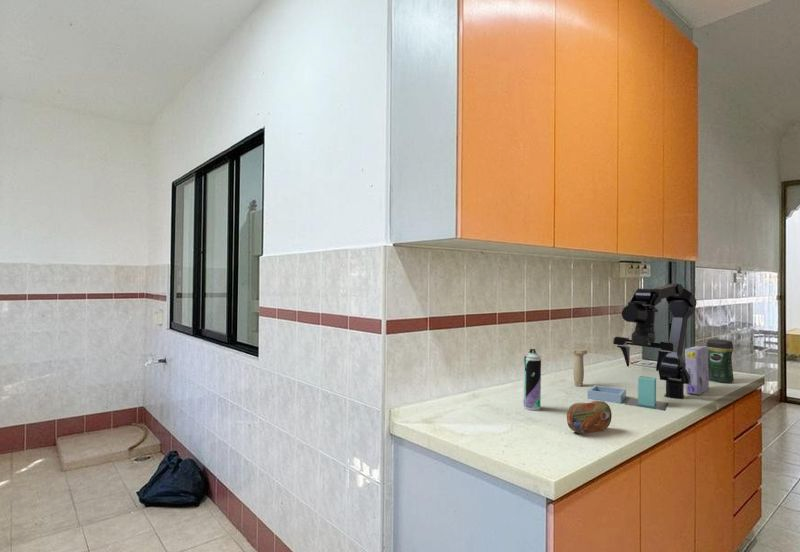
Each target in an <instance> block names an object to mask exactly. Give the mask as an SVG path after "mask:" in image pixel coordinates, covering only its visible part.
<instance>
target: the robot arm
mask: <svg viewBox="0 0 800 552" xmlns="http://www.w3.org/2000/svg"><path fill="white" fill-rule="evenodd" d="M664 299H665V300H666V301H667V304H668V305H669V307H668V308H669V311H670V313H671V315H672V319H671V320H672V321H671V327H670V331H669V332H670V333H669V340H668V342H667V341H660V342H655V341H656V333H655V324H656V323H655V322H656V321H655V320H656V313H658V312H659V310H658V308H656V306H658V304H660V303H661V302H662V300H664ZM697 304H698V303H697V299H696V296H695V295H694V294H693V293H692V292H691V291H690V290H687V289H686V288H685V287H684V286H683V284H681V283H666V284H665V285H661V286H657V287H654V288H642V287H641V288H640V287H639V288H637V289H636V290H635V292H634V294H633V296H632V297H631V299H630V301H628V303H627V305H626V306H625V307H623V309H622V310H621V317H622V319H623V320H624V321H625V322H628V323H634V324H635V327H634V331H633V332H632V333H631V339H630V338H629V337H622V336H615V337H614V338H613V340H612V341H613V345H617V346H616V347H617V348H619V349H620V350H621V351H622V354H623V356H624V361H625V364H626V367H628V368H629V367H630V357H631V356H630V354H631V353H630V352H631V349H630V348H631V347H630V346H631V345H632V346H636V347H637V346H638V347H645V348H646V347H648V348H653V349H654V348H656V349H659V350H657V351H658V353H657V354H658V356H657V361H656V366H655V370H656V372H658V375H659V380H660V381H665V393H664V396H663V397H664V398H669V399H677V400H685V398H686V396H685V395H684V392H685V391H684V385H686V384H689V383H690V376H689V374H688V372H687V370H686V363H685V358H684V357H683V351H684V345H685V339H686V332H687V326H688V319H689V318H690V317H691V316H693V314H694V312H695V309H696V306H697ZM629 345H630V346H629Z"/></svg>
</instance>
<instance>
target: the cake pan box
mask: <svg viewBox="0 0 800 552" xmlns="http://www.w3.org/2000/svg"><path fill="white" fill-rule="evenodd" d="M684 361H685V363H686V370H687V372H688V374H689V376H690V383H689V384H685V393H686V394H689V395H695V396H700V395H701V394H702V393H705V392H706V391H707V390H709V389H710V388H709V387H710V385H709V384H710V382H709V381H710V380H709V372H708V346H707V345H705V346H704V345H695V346H692V347H688V348H685V349H684Z"/></svg>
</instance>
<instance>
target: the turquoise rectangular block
mask: <svg viewBox="0 0 800 552" xmlns="http://www.w3.org/2000/svg"><path fill="white" fill-rule="evenodd" d="M637 399H638V404H641V405H647V406H655V404H656V401H657V377H653V376H645V375H640V376H639V377H638V378H637Z"/></svg>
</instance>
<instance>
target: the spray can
mask: <svg viewBox="0 0 800 552" xmlns="http://www.w3.org/2000/svg"><path fill="white" fill-rule="evenodd" d="M541 357H542V356H541V355H539V354H538V352H537V351H536V348H530V349H529V352H528V353H526V354H525V355H524V357H523V409H524V410H527V411H540V410H541V401H542V400H541V398H542V397H541V393H542V391H541V389H542V387H541V386H542V385H541V384H542V358H541Z"/></svg>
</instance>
